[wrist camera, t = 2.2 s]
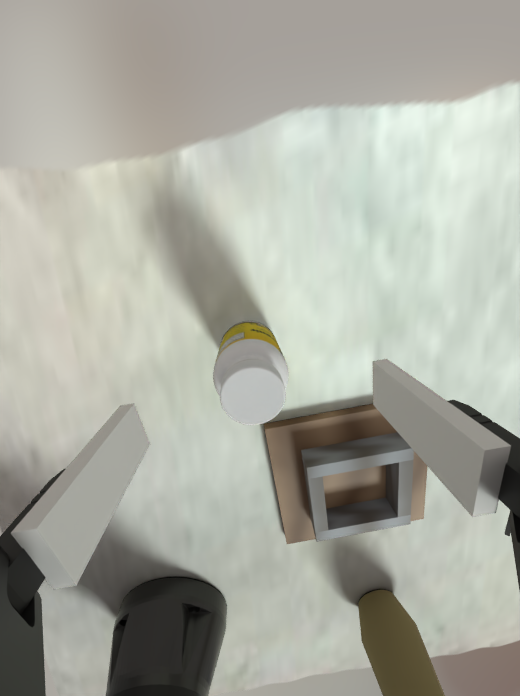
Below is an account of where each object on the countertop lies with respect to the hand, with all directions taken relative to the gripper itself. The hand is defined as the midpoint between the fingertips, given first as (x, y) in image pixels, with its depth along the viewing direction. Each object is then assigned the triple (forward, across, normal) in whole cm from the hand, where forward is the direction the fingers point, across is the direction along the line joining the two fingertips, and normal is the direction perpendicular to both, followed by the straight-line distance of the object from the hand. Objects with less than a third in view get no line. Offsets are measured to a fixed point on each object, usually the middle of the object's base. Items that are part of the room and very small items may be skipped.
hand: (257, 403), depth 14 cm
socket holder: (+11, -9, +18) cm, 23 cm away
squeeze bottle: (+11, -12, +45) cm, 48 cm away
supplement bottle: (+11, 0, 0) cm, 11 cm away
